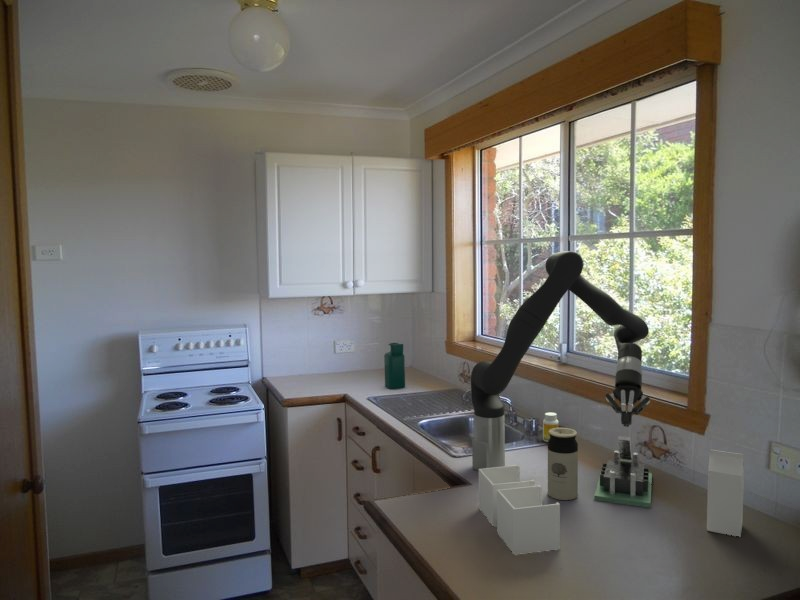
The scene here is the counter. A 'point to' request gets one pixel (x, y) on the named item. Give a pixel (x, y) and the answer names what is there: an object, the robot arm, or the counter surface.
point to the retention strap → (625, 448)
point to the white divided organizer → (518, 510)
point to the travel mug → (562, 464)
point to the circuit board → (624, 496)
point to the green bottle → (395, 367)
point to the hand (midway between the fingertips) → (626, 425)
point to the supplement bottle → (549, 424)
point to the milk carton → (725, 492)
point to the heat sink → (624, 476)
